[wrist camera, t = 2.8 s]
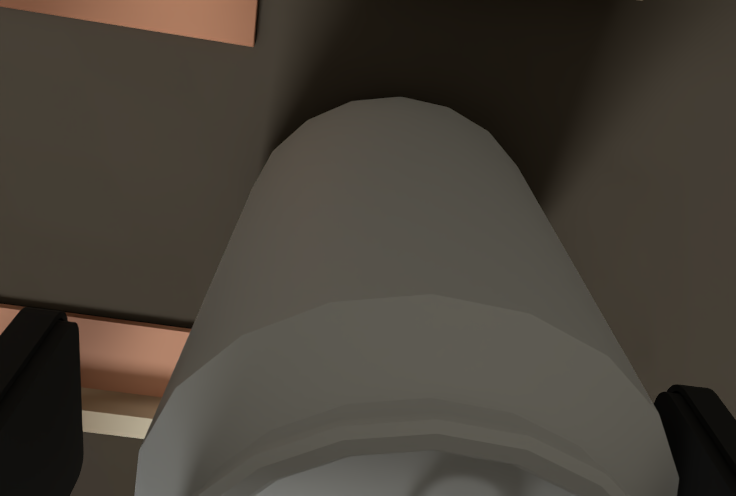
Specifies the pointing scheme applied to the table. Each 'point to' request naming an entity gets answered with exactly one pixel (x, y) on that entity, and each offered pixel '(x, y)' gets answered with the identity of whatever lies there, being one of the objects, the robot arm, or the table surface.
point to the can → (400, 334)
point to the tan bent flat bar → (122, 337)
